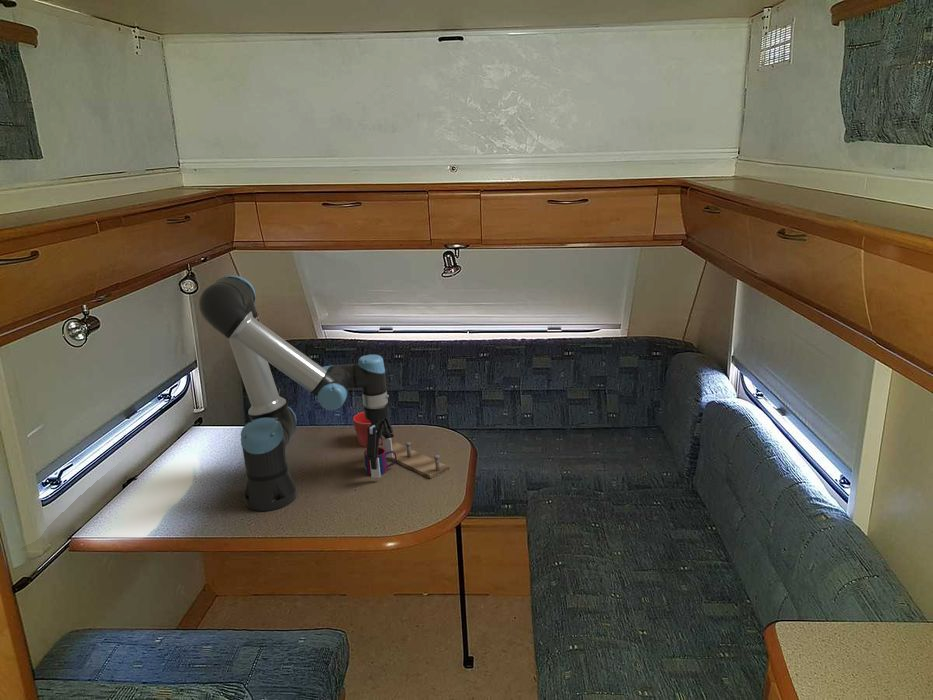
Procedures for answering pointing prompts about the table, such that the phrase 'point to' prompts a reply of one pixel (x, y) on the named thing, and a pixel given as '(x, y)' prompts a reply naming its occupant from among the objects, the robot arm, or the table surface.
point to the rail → (416, 460)
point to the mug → (382, 461)
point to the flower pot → (362, 428)
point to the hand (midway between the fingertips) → (382, 467)
